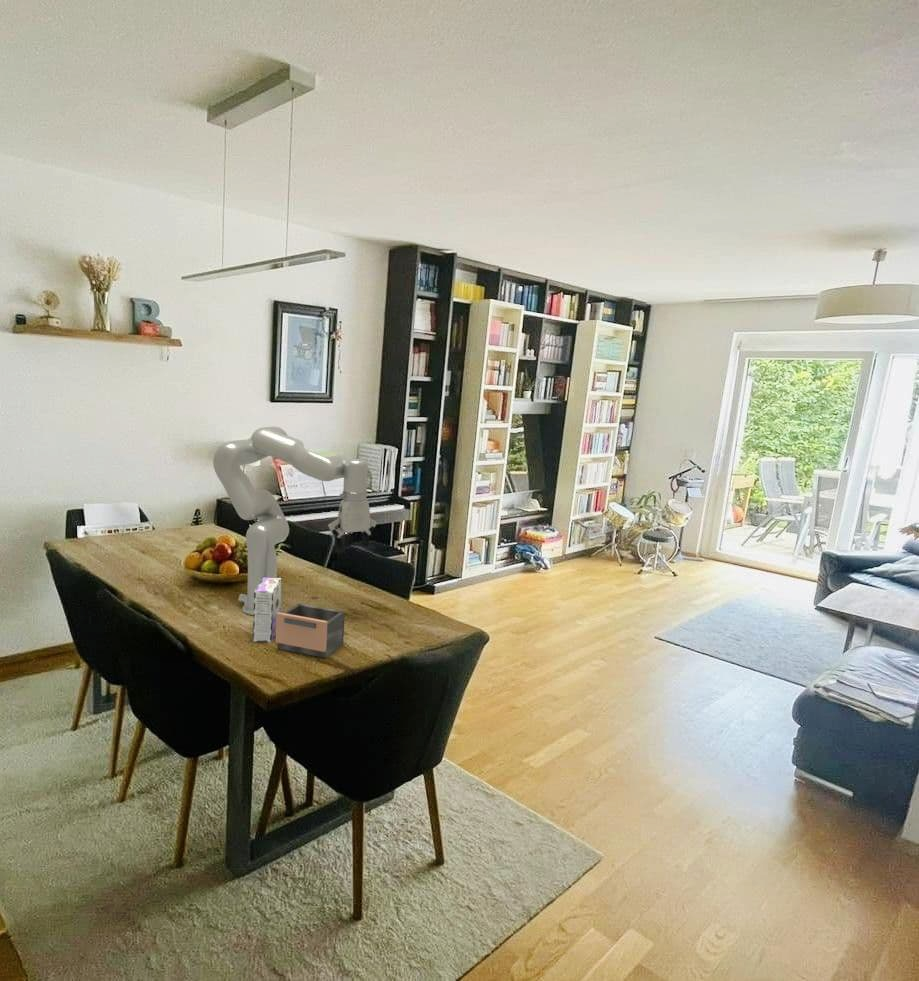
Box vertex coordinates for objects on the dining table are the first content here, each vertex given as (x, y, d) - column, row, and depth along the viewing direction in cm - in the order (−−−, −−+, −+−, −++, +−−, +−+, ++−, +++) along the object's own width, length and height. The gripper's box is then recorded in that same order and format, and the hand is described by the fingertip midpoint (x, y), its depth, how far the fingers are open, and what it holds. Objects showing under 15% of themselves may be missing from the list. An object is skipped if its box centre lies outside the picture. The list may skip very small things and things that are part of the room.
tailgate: (274, 643, 182) (275, 614, 181) (277, 640, 184) (278, 612, 182) (323, 652, 178) (324, 623, 177) (326, 650, 180) (327, 621, 178)
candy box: (262, 624, 201) (263, 576, 198) (280, 625, 202) (282, 577, 199) (252, 642, 188) (253, 590, 185) (271, 642, 188) (273, 591, 186)
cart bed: (277, 648, 185) (278, 615, 183) (297, 634, 195) (298, 603, 194) (326, 658, 181) (327, 624, 179) (343, 643, 191) (344, 611, 190)
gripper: (335, 500, 193) (333, 552, 196) (383, 497, 204) (380, 547, 206) (325, 495, 199) (322, 547, 201) (372, 493, 209) (369, 542, 212)
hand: (351, 547), depth 204 cm, fingers open, 9 cm apart
